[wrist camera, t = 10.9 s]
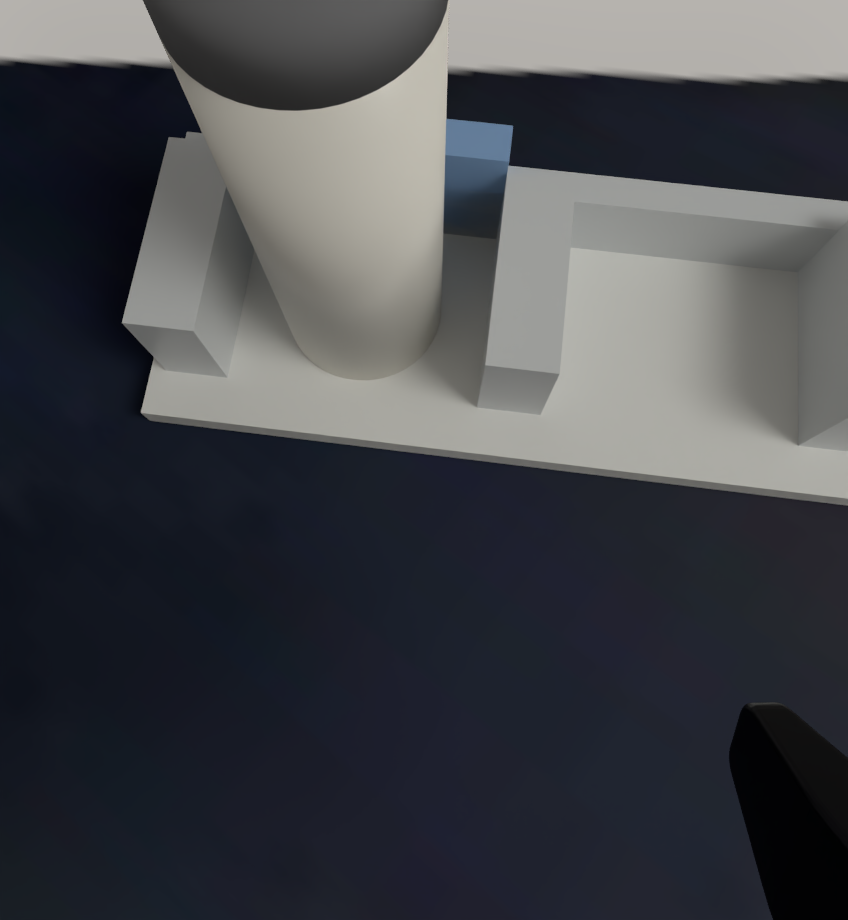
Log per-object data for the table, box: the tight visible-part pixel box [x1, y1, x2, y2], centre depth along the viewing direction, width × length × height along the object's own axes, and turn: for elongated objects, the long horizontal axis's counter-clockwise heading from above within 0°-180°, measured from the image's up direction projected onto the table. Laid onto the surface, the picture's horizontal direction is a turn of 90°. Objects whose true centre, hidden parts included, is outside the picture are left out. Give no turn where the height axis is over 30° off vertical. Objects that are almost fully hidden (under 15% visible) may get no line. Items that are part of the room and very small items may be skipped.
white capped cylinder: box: [143, 0, 449, 380], centre depth 17 cm, size 5×5×14 cm
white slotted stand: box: [122, 119, 848, 506], centre depth 22 cm, size 9×23×5 cm, turn 83°
